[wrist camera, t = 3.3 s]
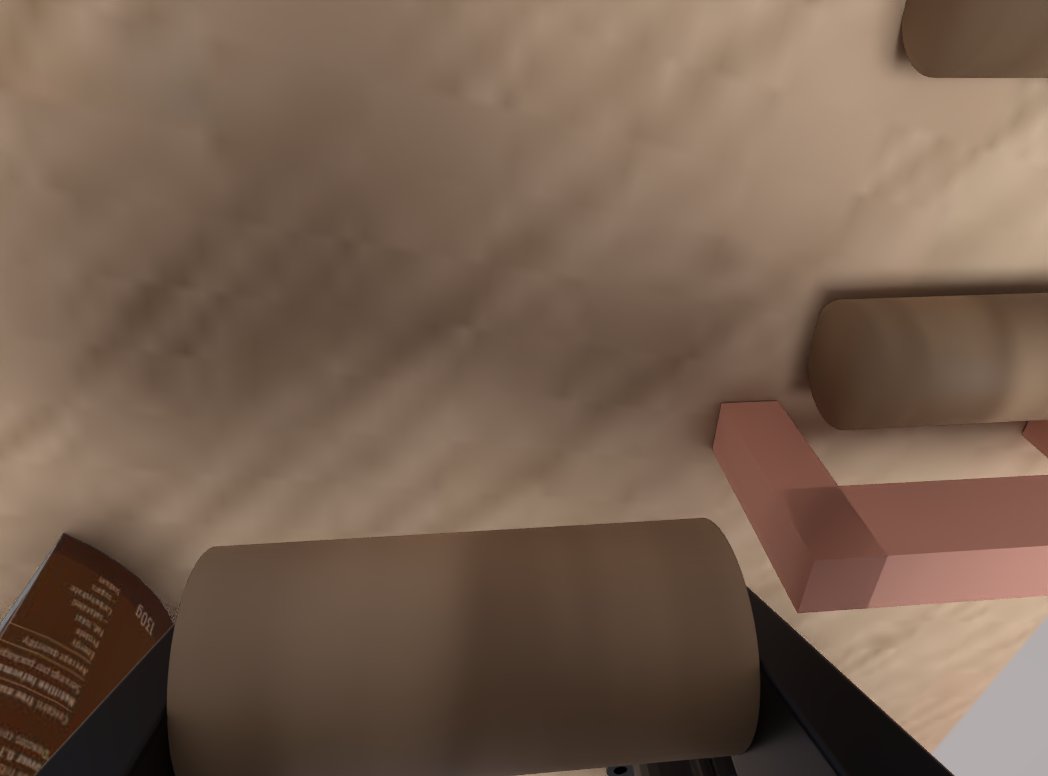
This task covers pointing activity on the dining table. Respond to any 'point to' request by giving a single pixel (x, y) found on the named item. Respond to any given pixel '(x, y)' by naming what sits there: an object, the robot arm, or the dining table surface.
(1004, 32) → the roller
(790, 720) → the robot arm
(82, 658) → the food container
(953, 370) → the roller
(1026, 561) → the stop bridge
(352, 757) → the roller
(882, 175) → the dining table surface
